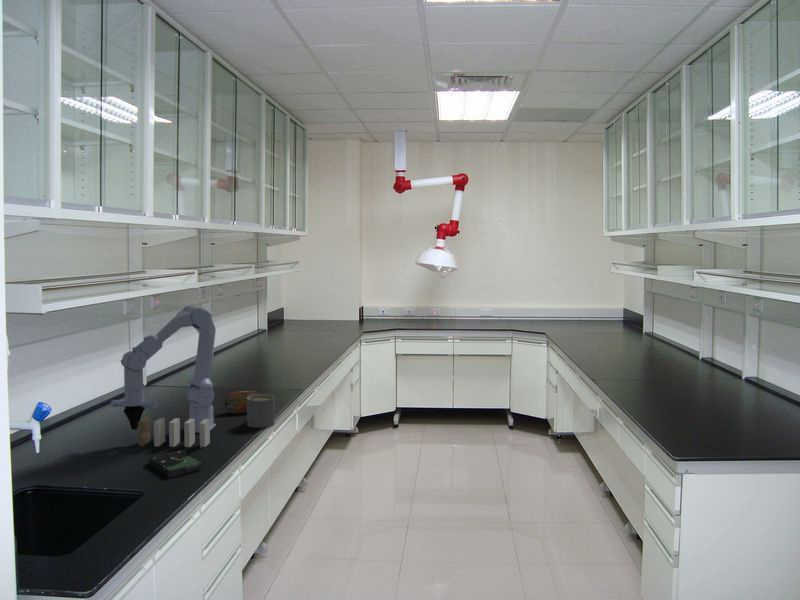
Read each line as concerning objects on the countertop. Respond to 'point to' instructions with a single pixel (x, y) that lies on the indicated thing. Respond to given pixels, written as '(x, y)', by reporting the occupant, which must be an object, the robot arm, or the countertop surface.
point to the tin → (238, 401)
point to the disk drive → (175, 463)
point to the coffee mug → (260, 410)
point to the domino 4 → (204, 432)
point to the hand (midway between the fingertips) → (134, 428)
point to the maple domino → (144, 431)
